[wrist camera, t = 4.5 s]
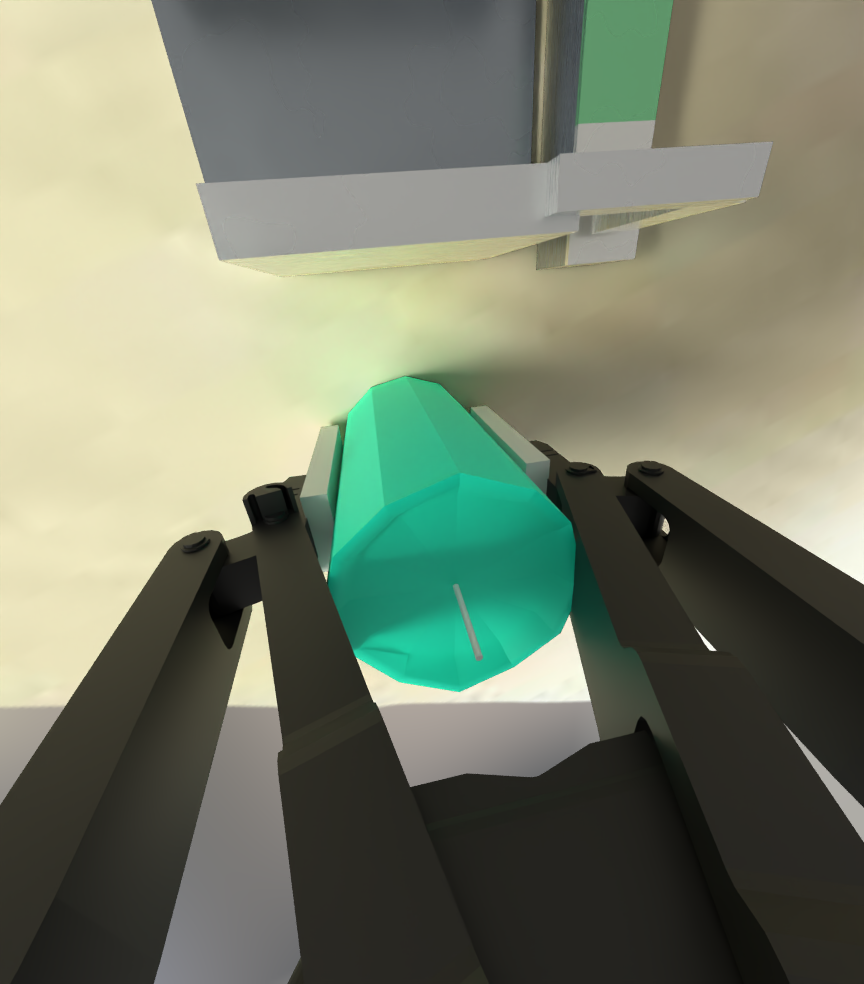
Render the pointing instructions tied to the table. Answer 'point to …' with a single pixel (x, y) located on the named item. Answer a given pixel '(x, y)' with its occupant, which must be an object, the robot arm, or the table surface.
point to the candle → (442, 543)
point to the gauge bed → (415, 88)
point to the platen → (468, 207)
